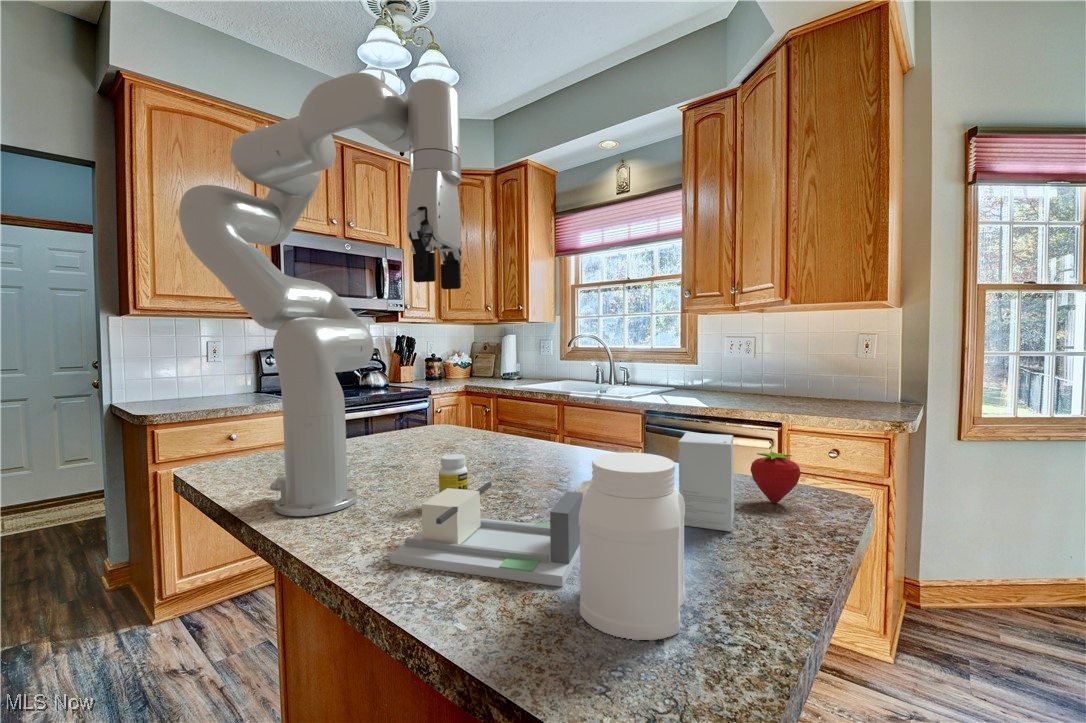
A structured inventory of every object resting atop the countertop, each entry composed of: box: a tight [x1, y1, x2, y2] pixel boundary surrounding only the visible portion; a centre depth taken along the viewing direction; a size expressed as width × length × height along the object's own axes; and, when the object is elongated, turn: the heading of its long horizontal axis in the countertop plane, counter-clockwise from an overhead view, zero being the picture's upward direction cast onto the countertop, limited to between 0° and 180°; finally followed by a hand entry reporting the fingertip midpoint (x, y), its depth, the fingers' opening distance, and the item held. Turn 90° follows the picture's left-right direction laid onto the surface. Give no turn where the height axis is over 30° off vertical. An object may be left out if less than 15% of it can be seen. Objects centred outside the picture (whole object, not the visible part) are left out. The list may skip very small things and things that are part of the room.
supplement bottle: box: [438, 453, 469, 494], centre depth 81 cm, size 5×5×8 cm
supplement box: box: [677, 432, 735, 532], centre depth 73 cm, size 7×7×13 cm
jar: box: [579, 452, 686, 641], centre depth 50 cm, size 12×10×15 cm
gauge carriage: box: [421, 481, 493, 544], centre depth 66 cm, size 5×15×5 cm, turn 163°
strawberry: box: [750, 443, 802, 504], centre depth 81 cm, size 6×8×10 cm
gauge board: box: [389, 491, 583, 588], centre depth 64 cm, size 22×14×7 cm, turn 73°
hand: (438, 285), depth 74 cm, fingers open, 9 cm apart
